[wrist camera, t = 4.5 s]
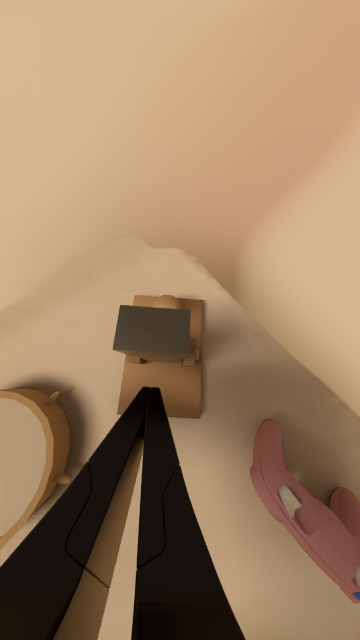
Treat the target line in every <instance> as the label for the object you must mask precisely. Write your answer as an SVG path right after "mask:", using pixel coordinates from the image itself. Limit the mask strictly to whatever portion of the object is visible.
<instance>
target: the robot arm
mask: <svg viewBox="0 0 360 640" xmlns="http://www.w3.org/2000/svg"><path fill="white" fill-rule="evenodd" d="M142 453H143V466H142V483H141V500H140V516H139V533H138V550H137V571H136V583H135V598H134V612H133V624H132V636H131V640H246V639H245V637H244V635H243V633H242V631H241V629H240V626H239V624H238V622H237V620H236V618H235V616H234V613H233V611H232V609H231V607H230V604H229V602H228V600H227V597H226V595H225V593H224V590H223V588H222V585H221V583H220V580H219V577H218V575H217V572H216V570H215V567H214V564H213V562H212V559H211V556H210V553H209V551H208V548H207V545H206V543H205V540H204V537H203V535H202V532H201V529H200V527H199V524H198V521H197V518H196V516H195V513H194V510H193V507H192V504H191V501H190V498H189V495H188V492H187V488H186V485H185V482H184V478H183V474H182V470H181V467H180V466H179V464H180V463H179V459H178V456H177V452H176V448H175V444H174V440H173V436H172V433H171V429H170V425H169V421H168V417H167V413H166V410H165V406H164V402H163V398H162V394H161V390H160V388H159V387H152V388H151V387H145V386H144V387H142V388H141V389H140V391H139V392H138V393H137V395H136V396H135V398H134V399H133V400H132V402H131V403H130V404H129V406H128V407H127V408H126V410H125V411H124V412H123V414H122V415H121V417H120V418H119V419H118V421H117V422H116V423H115V425H114V426H113V427H112V429H111V430H110V431H109V433H108V434H107V436H106V437H105V438H104V440H103V441H102V442H101V444H100V445H99V446H98V448H97V449H96V451H95V452H94V453H93V455H92V456H91V457H90V459H89V462H87V463H86V464H85V465H84V467H83V468H82V469H81V471H80V472H79V473H78V475H77V476H76V477H75V479H74V480H73V481H72V483H71V484H70V485H69V486H68V488H67V489H66V490H65V492H64V493H63V494H62V495H61V496H60V498H59V499H58V500H57V501H56V502H55V504H54V505H53V506H52V507H51V508H50V510H49V511H48V512H47V513H46V514H45V516H44V517H43V518H42V519H41V520H40V521H39V523H38V524H37V525H36V526H35V527H34V528H33V529H32V531H31V532H30V533H29V534H28V535H27V536H26V538H25V539H24V540H23V541H22V542H21V543H20V545H19V546H18V547H17V548H16V549H15V550H14V552H13V553H12V554H11V555H10V556H9V557H8V559H7V560H6V561H5V562H4V563H3V564H2V566H1V567H0V640H97V639H98V635H99V631H100V626H101V622H102V618H103V614H104V610H105V606H106V602H107V598H108V593H109V588H110V585H111V581H112V577H113V573H114V568H115V564H116V560H117V556H118V552H119V548H120V544H121V540H122V535H123V531H124V527H125V523H126V519H127V515H128V511H129V506H130V502H131V498H132V494H133V490H134V486H135V482H136V478H137V473H138V469H139V465H140V461H141V457H142Z"/></svg>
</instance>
